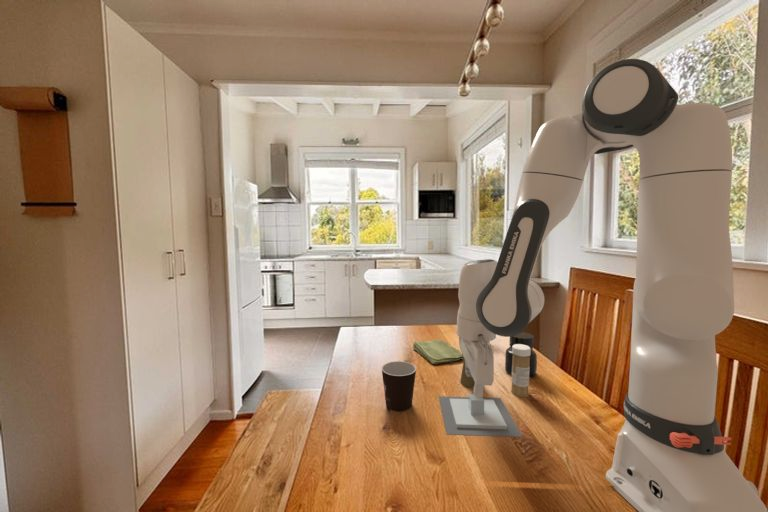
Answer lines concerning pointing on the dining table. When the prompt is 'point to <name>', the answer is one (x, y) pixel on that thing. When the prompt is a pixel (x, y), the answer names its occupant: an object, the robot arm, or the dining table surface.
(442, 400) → the mat
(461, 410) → the lid
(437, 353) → the washcloth
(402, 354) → the dining table surface
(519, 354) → the sprinkles bottle
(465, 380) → the cork
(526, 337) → the ink bottle
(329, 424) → the dining table surface
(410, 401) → the coffee mug
